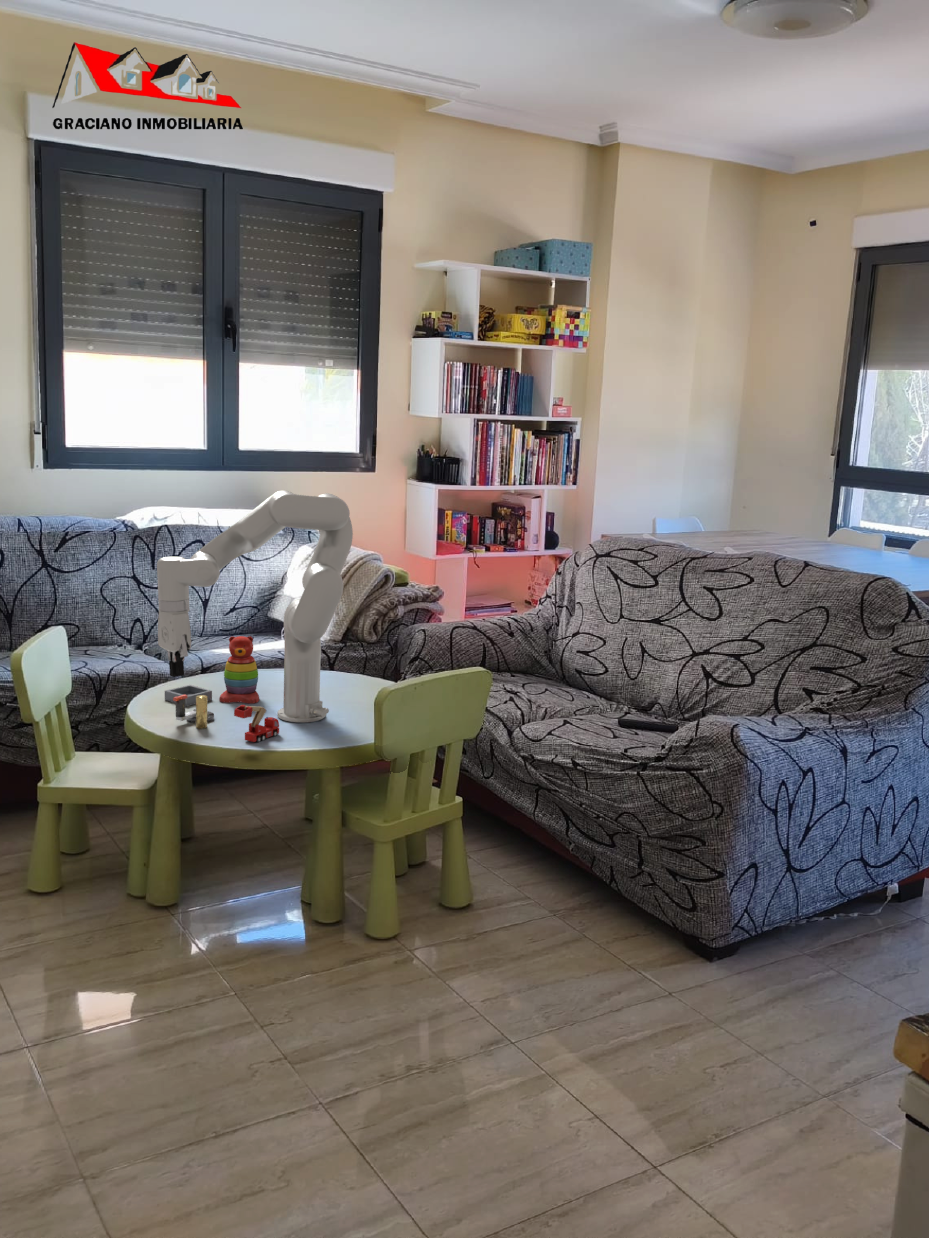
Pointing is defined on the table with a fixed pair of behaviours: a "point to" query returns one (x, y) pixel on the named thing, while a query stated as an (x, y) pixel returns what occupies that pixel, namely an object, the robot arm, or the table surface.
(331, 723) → the table surface
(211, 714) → the hub
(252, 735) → the toy fire truck
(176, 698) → the crank
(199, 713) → the pin
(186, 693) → the tray
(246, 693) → the stacking bear
